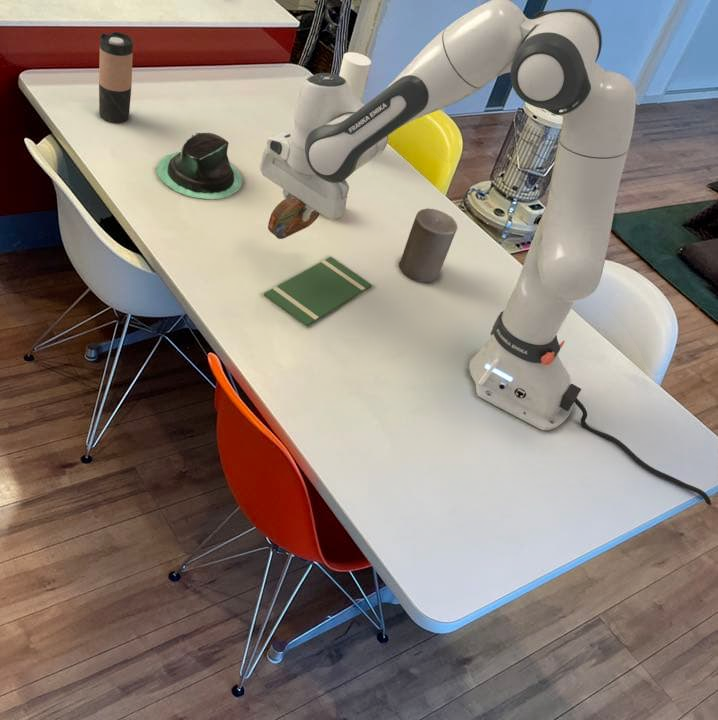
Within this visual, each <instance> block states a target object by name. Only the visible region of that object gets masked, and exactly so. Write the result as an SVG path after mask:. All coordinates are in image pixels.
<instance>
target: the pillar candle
mask: <svg viewBox="0 0 718 720" xmlns="http://www.w3.org/2000/svg"><path fill="white" fill-rule="evenodd" d="M457 231H458V224H457V222H456V220H455V219H454V217H452V216H451V215H449V214H448V213H446V212H443V211H442V210H440V209H435V208H423V209H420V210H419V211H418V212H417V213H416V214H415V217H414V220H413V223H412V226H411V229H410V231H409V234H408V237H407V240H406V243H405V246H404V248H403V252H402V256H401V258H400V261H399V263H398V267H399V269H400V271H401V272H402V273H403V274H404V275H405V276H407V277H408V278H409V279H411V280H413V281H416V282H420V283H431V282H435V281H436V280H437V279H438V278H439V276H440V273H441V270H442V268H443V266H444V263H445V261H446V259H447V256H448V253H449V250H450V248H451V245H452V242H453V240H454V238H455V235H456V232H457Z"/></svg>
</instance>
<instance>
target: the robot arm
mask: <svg viewBox="0 0 718 720" xmlns="http://www.w3.org/2000/svg"><path fill="white" fill-rule="evenodd" d="M602 46H603V36H602V30H601V26H600V25H599V23H598V21H597V20H596V19H595V17H594V16H593V15H592V14H590V12H587V11H585V10H584V9H583V10H582V9H581V8H580V9H579V8H561V9H555V10H544V11H543V10H542V11H538V12H535V13H534V14H533V15H532V16H531V17H530V18H528V17H526V15H525V14H524V13H523V11H522V9H520V7H519V6H518V5H517V4H515V3H514V2H513V1H511V0H488V1H486V2H484V3H482V4H480V5H479V6H477V7H475V8H474V9H472V10H470V11H469V12H467V13H465V14H463V15H462V16H460V17H459V18H457V19H456V20H455V21H453V22H451V24H448V25H447V26H446V27H445V28H444V29H442V31H440V32H439V33H438V34H436V35H435V37H433V39H432V40H430V41H429V42H428V43H427V44H426V45H425V46H424V47H423V48H422V49H421V50H420V52H419V53H418V54H417V55H416V56H415V57H414V58H413V59H412V60H411V61H410V62H409V63H408V65H407V66H405V68H404V69H403V70H402V71H401V72H400V73H399V74H398V75H397V76H396V77H395V79H393V81H391V83H390V84H389V85H387V86H386V88H384V89H383V90H382V91H381V92H380V93H379V94H377V95H376V96H374V97H373V98H372V99H371V100H370V101H368V102H367V103H365V104H364V102H362V100H361V101H360V100H359V99H358V98H357V97H356V96H355V95H354V94H353V92H352V91H351V89H350V87H349V85H348V83H347V81H346V80H345V79H344V78H342V77H341V76H339V74H336V73H330V72H319V73H315V74H313V75H310V76H309V77H307V78H306V79H305V80H304V82H303V84H302V85H301V89H300V90H299V94H298V98H297V101H296V106H295V111H294V115H293V116H294V117H293V119H294V126H293V128H292V130H286V131H282V132H279V133H276V134H274V135H272V136H270V137H268V138H267V139H266V147H265V148H264V150H263V153H262V157H261V160H260V161H261V162H260V166H259V168H260V172H261V175H262V176H263V177H264V178H266V179H267V180H269V181H270V182H272V183H273V184H275V185H277V187H279V188H281V189H282V195H283V199H284V200H285V199H287V198H289V197H292V196H295V197H296V198H298V199H299V200H301V201H302V202H304V203H305V204H306V206H305V207H306V208H307V210H306V209H305V210H303V211H300V213H299V215H300V216H299V219H301V220H302V221H304V222H305V221H307V220H309V217H310V213H311V212H313V211H314V210H316V211H317V212H319V213H320V214H319V215H322V216H323V217H325V218H326V219H327V220H329V221H334V220H336V219H338V218H340V217H342V216H343V215H344V214H345V212H346V206H347V200H348V194H349V190H350V185H349V183H348V182H347V179H348V178H349V177H351V175H352V174H353V173H354V172H356V171H357V170H359V169H360V168H361V167H363V166H365V165H367V164H368V163H369V162H370V161H372V160H374V159H375V158H376V157H378V156H379V155H380V154H382V152H384V151H385V149H386V146H387V145H388V141H389V136H390V135H391V134H392V133H393V132H395V131H397V130H398V129H400V128H401V127H403V126H405V125H408V124H409V123H411V122H413V121H415V120H417V119H419V118H423V117H424V116H427V115H430V114H432V113H435V112H437V111H439V110H440V111H441V110H442V109H444V108H447V107H449V106H451V105H454V104H456V103H458V102H460V101H463V100H464V99H466V98H468V97H470V96H472V95H474V94H476V93H477V92H478V91H480V90H481V89H482V88H485V86H487V85H489V83H491V82H492V81H494V80H495V79H496V78H498V77H500V76H502V75H504V74H508V73H510V83H511V87H512V88H513V91H514V92H515V94H516V95H517V96H518V97H519V99H521V100H522V101H523V102H525V103H526V104H528V105H530V106H533V107H535V108H538V109H543V110H546V111H547V112H549V113H551V114H553V115H555V116H562V121H561V122H562V123H561V128H560V132H559V136H558V143H557V146H556V147H557V148H556V153H555V157H554V161H553V167H552V173H551V177H550V183H549V191H548V197H547V204H546V206H545V208H544V210H543V212H542V215H541V217H540V220H539V223H538V226H537V227H536V230H535V233H534V235H533V238H532V241H531V243H530V246H529V248H528V251H527V253H526V256H525V258H524V262H523V265H522V268H521V270H520V274H519V277H518V279H517V282H516V284H515V285H514V289H513V290H512V293H511V294H510V297H509V299H508V301H507V303H506V305H505V307H504V308H503V310H502V311H500V313H499V314H498V315H497V317H496V319H495V321H494V324H493V325H492V329H491V331H490V333H489V335H490V336H489V337H488V339H487V340H486V342H485V343H484V345H483V346H482V347H481V348H480V349H479V351H478V352H477V353H476V354H475V355H474V356H473V357H472V358H471V359H470V361H469V365H468V366H469V367H468V369H469V373H470V377H471V378H472V381H473V382H474V384H475V392H476V395H477V396H478V397H479V398H480V399H482V400H484V401H486V402H488V403H490V404H492V405H493V406H495V407H497V408H498V409H501V410H503V411H505V412H506V413H508V414H510V415H512V416H514V417H516V418H517V419H520V420H521V421H523V422H525V423H527V424H529V425H531V426H533V427H535V428H536V429H539V430H541V431H550V430H554V429H556V428H558V427H559V426H561V425H562V424H563V423H564V422H565V421H566V420H567V419H568V418H569V416H570V414H571V413H572V411H573V408H574V405H576V406H577V407H578V409H580V411H581V413H582V414H581V417H580V424H581V426H582V427H583V428H584V429H585V430H587V431H588V432H590V433H592V434H595V435H596V436H598V437H601V438H603V439H606V440H608V441H611V442H612V443H614V444H615V445H617V446H618V447H619V448H620V449H621V450H622V451H623V452H625V453H626V454H627V456H629V457H630V458H631V459H632V460H633V461H634V462H635V463H637V464H638V465H639V466H640V467H642V468H643V469H645V470H647V471H648V472H649V473H651V474H654V475H655V476H657V477H660V478H662V479H664V480H667V481H669V482H671V483H673V484H674V485H677V486H679V487H681V488H683V489H686V490H688V491H691V492H693V493H695V494H698V495H699V496H700V497H702V498H703V500H704V501H705V504H706V505H708V506H711V505H712V500H711V498H710V497H709V495H708V494H707V493H706V492H705V491H704V490H702V489H700V488H699V487H696V486H694V485H691V484H689V483H686V482H684V481H682V480H679V479H678V478H676V477H673V476H671V475H670V474H667V473H664V472H662V471H660V470H658V469H656V468H654V467H653V466H650V465H649V464H647V463H646V462H644V461H643V460H642V459H640V457H638V456H637V455H636V454H635V453H634V452H633V451H632V450H631V449H630V448H629V447H628V446H627V445H626V444H624V443H623V442H622V441H621V440H619V439H618V438H616V437H614V436H612V435H610V434H608V433H605V432H602V431H600V430H597V429H595V428H592V427H591V426H590V425H588V424H587V422H586V420H587V418H588V411H587V409H586V407H585V406H584V404H583V403H582V402H581V401H580V400H579V398H578V396H579V394H580V392H581V391H582V388H581V387H579V386H577V385H576V384H574V383H572V377H571V374H570V373H569V372H568V370H567V368H566V367H565V365H564V363H563V362H562V360H561V358H560V356H559V353H560V351H561V349H562V348H563V346H564V344H565V340H562V341H561V342H560V343H559V340H558V335H557V334H558V333H559V331H560V329H561V327H562V326H563V324H564V323H565V320H566V318H567V317H568V315H569V314H570V312H571V310H572V307H573V305H574V302H577V301H582V300H584V299H586V298H588V297H590V296H591V295H593V293H595V292H596V290H597V289H598V287H599V285H600V282H601V279H602V275H603V272H604V267H605V262H606V259H607V258H606V257H607V252H608V248H609V244H610V243H609V242H610V238H611V233H612V232H611V231H612V226H613V220H614V215H615V209H616V208H615V207H616V201H617V196H618V191H619V188H620V183H621V180H622V176H623V173H624V168H625V165H626V160H627V156H628V152H629V148H630V144H631V141H632V140H631V139H632V138H633V137H632V136H633V130H634V125H635V117H636V107H637V91H636V88H635V86H634V84H633V83H632V81H631V80H630V79H629V78H628V77H626V76H624V75H623V74H621V73H618V72H616V71H609V70H606V69H604V68H602V67H601V66H600V65H599V63H598V62H597V61H598V59H599V57H600V54H601V52H602Z"/></svg>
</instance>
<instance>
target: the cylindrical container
mask: <svg viewBox="0 0 718 720" xmlns="http://www.w3.org/2000/svg"><path fill="white" fill-rule="evenodd" d="M371 65H372V60H371V59H370V58H369V57H368V56H367V55H364V54H361V53H358V52H353V51H351V52H350V51H349V52H345V53H344V54H343V57H342V62H341V66H340V68H339V69H340V70H339V74H338V75H339V76H341V77H342V78H344V79H345V80H346V81H347V83H348V85H349V87H350V89H351V91H352V92H353V94H354V95H355V96H356V97H357V98H358V99H359V100H360V101H361V102H362V99H363V96H364V92H365V87H366V83H367V80H368V77H369V73H370V68H371Z"/></svg>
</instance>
